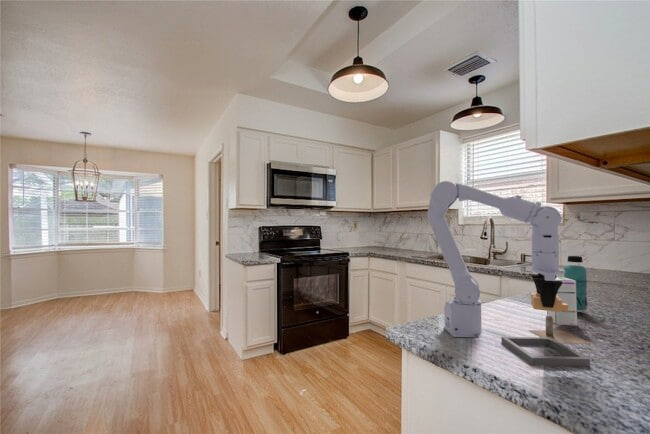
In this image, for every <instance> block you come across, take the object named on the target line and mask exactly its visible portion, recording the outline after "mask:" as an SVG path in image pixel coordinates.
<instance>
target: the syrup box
mask: <svg viewBox="0 0 650 434" xmlns="http://www.w3.org/2000/svg"><path fill="white" fill-rule="evenodd" d="M555 280H556V281H562V282H563V283H562V285H561V286H560V288H559V290H558V292H557V295H558V297H559V298H560V299H561V300H562V303H566V304H567V305H568V311H562V312H554V311H546V316H548V315H550V316H552V318H553V324H555V325H558V326H559V325H563V326H578V312H577V311H578V310H577V304H576V281H575V280H571V279H568V278H564V276H557V278H556V279H555Z"/></svg>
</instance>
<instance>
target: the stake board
mask: <svg viewBox="0 0 650 434" xmlns="http://www.w3.org/2000/svg"><path fill="white" fill-rule="evenodd" d="M528 332H530V333H532V334H533V335H535V336H537V337H542V338H551V339H553V340H555V341H557V342H559V343H561V344H575V345H576V344H582V345H583V344H584V345H585V344H587V345H592V343H591V342H589V341H587V340H585V339H583V338H580V337H578V336H576V335H574V334H573V333H570V332H567V331H566V330H554V323H553V318H552V316H550V315H548V316H547V315H546V316H545V330H540V329H538V330H537V329H533V330H532V329H529V330H528Z"/></svg>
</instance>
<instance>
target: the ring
mask: <svg viewBox="0 0 650 434" xmlns="http://www.w3.org/2000/svg"><path fill="white" fill-rule="evenodd" d="M530 303H531V304H530V305H531V306H532V308H533V309H534V310H537V311H539V310H540V311H545V312H547V311H554V312H562V311H568V305H567V304H566V303H562V300H561V299H560V298H559V297H558V295H556V299H555V303H554V306H553V308H550V307H543V305H542V302H541V297H540V294H537V293H536V292H531V293H530Z"/></svg>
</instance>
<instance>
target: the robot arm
mask: <svg viewBox="0 0 650 434" xmlns="http://www.w3.org/2000/svg"><path fill="white" fill-rule="evenodd" d="M429 197H430V199H429V204H428V209H427V213H426V216H427V219H428V222H429V225H430V227H431V228H432V231H433V234H434V236H435V238H436V240H437V243H438V245H439V248H440V250H441V252H442V254H443V257H444V259H445V262H446V264H447V266H448V269H449V272H450V273H451V274H450V275H451V277H452V280H453V282H454V294H455V296H454V297H453V300H451V301H445V302H444V308H443V312H444V313H443V314H444V316H443V319H444V320H443V321H444V325H443V328H444V329H445V330H446V331H447V332H448V334H450V335H451V336H452V337H453V338H454V337H455V338H479V336H478V335H479V334H482V330H483V329H482V300H480V296H481V291H480V288H479V287H480V286H479V282H478V281H477V280H476V279H475V278H474V277H473V276H472V275H471V273H470V271H469V269H468V267H467V265H466V261H464V258H463V256H462V254H461V251H460V249H459V247H458V244H457V241H456V240H455V238H454V236H453V234H452V231H451V228H450V226H449V224H448V221H447V219H446V215H447V213H448V211H449V210H450V207H451V206H452V205H453V204H455V202H456V201H457V200H458V202H464V201H472V202H476V203H478V204H483V205H486V206H489V207H492V208H496V209H498V210H499V211H500V214H501V215H502V216H505V217H508V218H510V219H513V220H517V221H519V222H521V223H525V224H528V223H530V225H531V226H532V227H531V228H532V233H531V268H530V270H531V272H533V273H531V274H530V276H531V278H532V280H533V282H534V286H535V289H536V292H537V294H540V297H541V302H542V305H543V307H550V308H553V306H554V303H555V299H556V295H557V292H558V290H559V288H560V286H561V285H562V283H563V282H562V281H556V280H555V279H556V278H557V277H558V276H557V275H559V274H564V273H565V270H564V269H562V268H560V250H559V249H560V247H559V244H560V242H559V241H560V240H559V236H560V235H559V225H560V224H561V223H562V219H563V217H562V215H561V214H560V211H558V209H557V208H555V207H552V206H548V205H546V206H542V202H539V201H536V202H533V201H531V200H527V199H524V198H522V195H519V194H516V195H515V196H513V195H509V196H506V197H501V196H498V195H496V194H493V193H490V192H486V191H484V190H481V189H480V188H479V189H478V188H475V187H473V186H470V185H466V184H461V183H457V182H456V183H453V182H452V181H447V180H444V181H440V182H438V183H437V184H436V185H435V187H434V189H433V190H432V192H431V193H430V196H429Z"/></svg>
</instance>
